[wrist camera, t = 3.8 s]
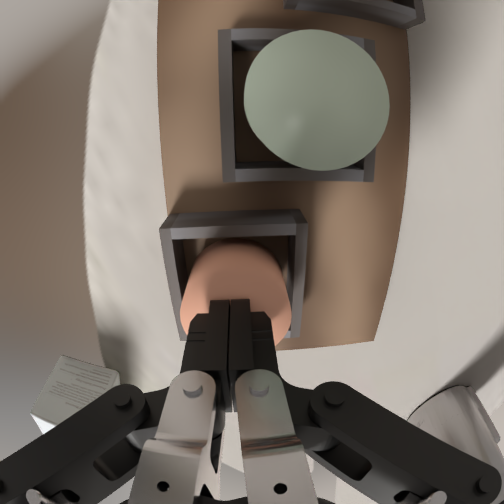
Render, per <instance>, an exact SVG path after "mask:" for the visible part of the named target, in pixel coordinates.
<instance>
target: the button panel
mask: <svg viewBox="0 0 504 504" xmlns="http://www.w3.org/2000/svg"><path fill="white" fill-rule="evenodd" d="M423 22H425V15H424V9H423V3H422V0H158V26H157V80H158V108H159V127H160V142H161V154H162V166H163V177H164V186H165V196H166V204H167V213H168V217H167V218H166V220H165V221H164V223H163V224H162V225H161V227H160V228H159V232H160V239H161V245H162V251H163V257H164V263H165V269H166V274H167V280H168V285H169V290H170V295H171V300H172V305H173V310H174V314H175V319H176V324H177V328H178V332H179V337H180V341H186V340H187V334H186V333H185V331H184V329H183V327H182V324H181V320H180V308H181V303H182V300H183V296H184V293H185V290H186V286H187V283H188V279H189V276H190V273H191V269H192V266H193V264H194V261H195V260H196V258H197V256H198V255H199V254H200V253H201V252H202V251H203V250H204V249H205V248H206V247H208V246H209V245H211V244H213V243H215V242H217V241H220V240H224V239H229V238H243V239H249V240H252V241H255V242H257V243H260V244H261V245H263V246H265V247H266V248H267V249H269V250H270V251H271V252H272V253H273V254H274V256H275V257H276V258H277V260H278V262H279V264H280V266H281V270H282V274H283V278H284V282H285V286H286V290H287V294H288V298H289V302H290V307H291V315H292V318H291V324H290V327H289V329H288V331H287V333H286V335H285V336H284V338H283V339H282V340H281V341H280V342H279V343H278V344H277V345H276V346H275V350H276V351H279V350H293V349H306V348H317V347H327V346H337V345H345V344H353V343H361V342H368V341H374V338H375V335H376V331H377V328H378V324H379V321H380V317H381V313H382V310H383V306H384V302H385V298H386V294H387V290H388V286H389V281H390V277H391V272H392V268H393V263H394V258H395V253H396V248H397V242H398V236H399V231H400V224H401V218H402V211H403V204H404V196H405V187H406V178H407V167H408V154H409V137H410V69H409V52H408V40H407V31H406V29H408V28H410V27H412V26H415V25H417V24H420V23H423ZM309 29H312V30H323V31H329V32H332V33H336V34H339V35H341V36H343V37H346V38H348V39H349V40H351V41H353V42H354V43H356V44H357V45H359V46H360V47H361V48H362V49H364V50H365V51H366V52H367V53H368V54H369V55H370V56H371V58H372V59H373V60H374V61H375V63H376V64H377V66H378V67H379V69H380V71H381V73H382V75H383V77H384V79H385V82H386V85H387V89H388V94H389V104H390V107H389V117H388V122H387V125H386V128H385V131H384V133H383V135H382V137H381V139H380V140H379V142H378V143H377V145H376V146H375V147H374V148H373V149H372V151H371V152H370V153H368V154H367V155H366V156H365V157H364V158H362V159H361V160H359V161H358V162H356V163H354V164H352V165H349V166H347V167H344V168H340V169H335V170H326V171H319V170H310V169H305V168H301V167H298V166H295V165H293V164H291V163H289V162H287V161H285V160H283V159H281V158H280V157H278V156H277V155H275V154H274V153H273V152H272V151H271V150H269V149H268V148H267V147H266V145H265V144H264V143H263V142H262V141H261V140H260V139H259V138H258V137H257V136H256V134H255V133H254V132H253V130H252V129H251V127H250V125H249V123H248V120H247V118H246V114H245V110H244V89H245V82H246V77H247V74H248V71H249V69H250V67H251V65H252V63H253V61H254V59H255V58H256V56H257V55H258V54H259V52H260V51H261V50H262V49H263V48H264V47H265V46H266V45H268V44H269V43H270V42H272V41H273V40H275V39H277V38H278V37H280V36H282V35H285V34H288V33H290V32H294V31H299V30H309Z"/></svg>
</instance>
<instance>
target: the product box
mask: <svg viewBox="0 0 504 504" xmlns="http://www.w3.org/2000/svg"><path fill="white" fill-rule="evenodd" d="M117 385H120V377H119V373H118V372H117V371H116V370H112V369H109V368H105V367H100V366H97V365H93V364H90V363H86V362H83V361H80V360H77V359H74V358H71V357H67V356H64V355H61V356H60V358H59V360H58V362H57V364H56V365H55V367H54V369H53V371H52V372H51V374H50V376H49V378H48V380H47V381H46V383H45V385H44V387H43V389H42V391H41V392H40V394H39V396H38V398H37V400H36V402H35V404H34V406H33V408H32V410H31V412H30V413H31V415H32V416H33V418H34V420H35V421H36V423H37V424H38V426H39V428H40V430H41V431H42V433H43V434H45V433H46V432H48V431H49V430H51V429H52V428H54V427H55V426H57V425H58V424H60V423H61V422H63V421H64V420H66V419H67V418H69V417H70V416H72V415H73V414H75V413H76V412H78V411H79V410H81V409H82V408H84V407H85V406H86V405H88V404H89V403H91V402H92V401H94V400H95V399H97V398H98V397H100V396H101V395H102V394H104V393H105V392H107V391H108V390H110V389H111V388H113V387H115V386H117Z"/></svg>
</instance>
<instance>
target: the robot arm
mask: <svg viewBox="0 0 504 504" xmlns="http://www.w3.org/2000/svg"><path fill="white" fill-rule="evenodd" d="M232 400H233V408H234V412H238V422H239V431H240V440H241V450H242V458H243V466H244V474H245V482H246V490H247V497H243V498H238V499H234V500H230V501H220V468H221V459H222V450H223V442H224V433H225V429H224V427H225V412H232ZM499 441H500V436H499V434H498V432H497V430H496V428H495V426H494V424H493V422H492V421H491V419H490V417H489V415H488V413H487V412H486V410H485V408H484V407H483V405H482V403H481V401H480V400H479V398H478V396H477V395H476V393H475V391H474V390H473V388H472V387H471V386H470V387H467V388H466V387H464V386H455V387H452V388H449V389H447V390H445V391H443V392H441V393H439V394H438V395H436V396H434V397H433V398H431V399H430V400H428V401H427V402H426V403H424V404H423V405H422V406H421V407H419V408H418V409H417V410H416V411H415V412H414V413H413V414H412V415H411V416H410V418H409V419H408V421H406V420H404V419H402V418H401V417H399V416H397V415H396V414H394V413H392V412H391V411H389V410H387V409H385V408H384V407H382V406H380V405H379V404H377V403H376V402H374V401H372V400H371V399H369V398H367V397H366V396H364V395H363V394H361V393H359V392H358V391H356V390H354V389H353V388H351V387H350V386H348V385H346V384H344V383H341V382H334V381H333V382H325V383H322V384H320V385H319V386H317V387H316V388H315V389H314V390H311V389H304V388H299V387H295V386H293V385H290V384H289V383H287V382H286V381H285V380H284V379H283V378H282V377H281V376H280V374H279V370H278V364H277V357H276V350H275V343H274V336H273V329H272V322H271V319H270V318H269V316H268V315H267V314H266V313H265V312H264V311H258V312H251V311H250V299H231V307H230V300H210V305H209V313H197V314H196V315H195V317H194V318H193V319H192V320H191V322H190V325H189V330H188V335H187V340H186V345H185V350H184V355H183V360H182V366H181V371H180V374H179V375H178V376H176V377H175V378H174V379H173V380H172V382H171V384H170V386H169V387H167V388H165V389H162V390H158V391H153V392H148V393H143V392H142V391H141V390H140V389H139V388H138V387H136V386H134V385H130V384H121V385H117V386H115V387H113V388H111V389H110V390H108V391H107V392H105V393H104V394H102V395H101V396H100V397H98V398H97V399H95V400H94V401H92V402H91V403H89V404H88V405H86V406H85V407H84V408H82V409H81V410H79V411H78V412H76V413H75V414H73V415H72V416H70V417H69V418H67V419H66V420H64V421H63V422H61V423H60V424H58V425H57V426H55V427H54V428H52V429H51V430H49V431H48V432H46V433H45V434H43V435H41V436H40V437H38V438H37V439H35V440H34V441H32V442H31V443H29V444H28V445H26V446H24V447H23V448H21V449H20V450H18V451H17V452H15V453H13V454H12V455H10V456H9V457H7V458H5V459H4V460H3V461H1V462H0V504H97V503H99V502H100V501H102V500H103V499H105V498H106V497H107V496H109V495H110V494H112V493H113V492H114V491H116V490H117V489H118V488H120V487H121V486H122V485H124V484H125V483H126V482H128V481H129V480H130V479H132V478H133V477H134V476H135V478H134V481H133V485H132V489H131V493H130V497H129V499H128V500H125V501H123V502H122V503H120V504H335V503H332V502H330V501H328V500H325V499H321V498H318V497H317V496H316V492H315V488H314V484H313V481H312V477H311V473H310V469H309V465H308V462H307V458H306V454H308V455H309V456H310V457H311V458H313V459H314V460H315V461H317V462H318V463H319V464H321V465H322V466H324V467H325V468H326V469H328V470H329V471H330V472H332V473H333V474H335V475H336V476H337V477H339V478H340V479H342V480H343V481H345V482H346V483H348V484H349V485H350V486H352V487H353V488H355V489H357V490H358V491H360V492H361V493H363V494H364V495H366V496H367V497H369V498H371V499H372V500H374V501H375V502H377V503H379V504H504V458H503V456H502V453H501V451H500V449H499V447H498V445H497V443H498V442H499ZM305 453H306V454H305Z"/></svg>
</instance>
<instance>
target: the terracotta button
mask: <svg viewBox="0 0 504 504" xmlns="http://www.w3.org/2000/svg"><path fill="white" fill-rule="evenodd" d="M231 299H250V311H251V312H258V311H264V312H265V313H266V314H267V315H268V316H269V318H270V319H271V322H272V329H273V336H274V343H275V346H276V345H277V344H278V343H279V342H280V341H281V340H282V339H283V338H284V336H285V335H286V333H287V331H288V329H289V327H290V324H291V318H292V315H291V307H290V302H289V298H288V294H287V290H286V286H285V282H284V278H283V274H282V270H281V266H280V264H279V262H278V260H277V258H276V257H275V256H274V254H273V253H272V252H271V251H270V250H269V249H267V248H266V247H265V246H263V245H261V244H260V243H257V242H255V241H252V240H249V239H243V238H229V239H224V240H220V241H217V242H215V243H213V244H211V245H209V246H208V247H206V248H205V249H204V250H203V251H202V252H201V253H200V254H199V255H198V256H197V258H196V260H195V261H194V264H193V266H192V269H191V273H190V276H189V279H188V283H187V286H186V290H185V293H184V296H183V300H182V303H181V308H180V320H181V324H182V327H183V329H184V331H185V333H186V334H187V335H188V330H189V325H190V322H191V320H192V319H193V318H194V317H195V315H196V314H197V313H209V305H210V300H230V307H231Z"/></svg>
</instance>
